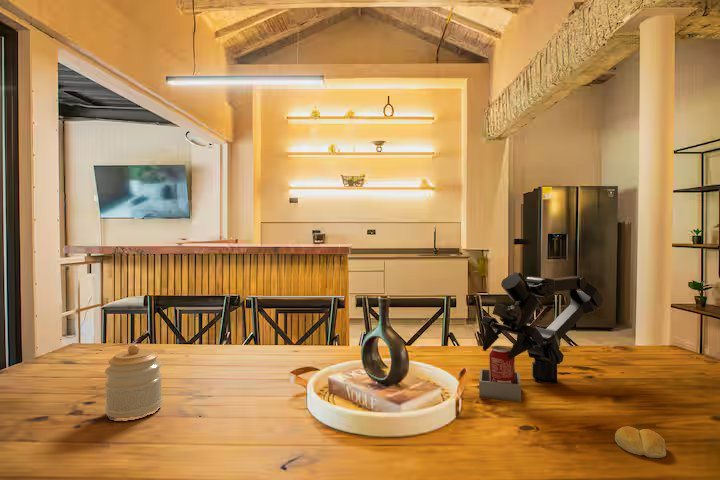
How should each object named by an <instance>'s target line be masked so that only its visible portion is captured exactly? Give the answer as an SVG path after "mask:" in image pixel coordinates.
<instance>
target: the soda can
mask: <svg viewBox="0 0 720 480" xmlns="http://www.w3.org/2000/svg"><path fill="white" fill-rule="evenodd" d="M511 349H512V347H510V346H506V345H492V346H491V350H490V352H489V353H488V356H489V357H488V359H489V360H488V361H489V362H488V364H489V365H488V366H489V369H488V370H489V376H490V382H500V383H510V384H515V372H516V371H515V370H516V369H515V367H516V366H515V363H516V362H515V358H516V356H515V357H514V358H512V359H509V358H508V354H509V352H510V350H511Z"/></svg>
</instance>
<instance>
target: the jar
mask: <svg viewBox="0 0 720 480" xmlns="http://www.w3.org/2000/svg"><path fill="white" fill-rule="evenodd" d="M158 356H159V353H158V352H156V351H155V352H154V351H153V350H151V349H149V348H140V346H139V345H138V344H135V343H133V344H130V345H129V346H128V348H127V350H124V351H121V352H118V353H116V354H115V355H114V356H113V357H111V358H109V360H108V361H107V362H108V364H109V366H108V367H107V368H106V369H105V370H104V374H105V375H106V377H107V379H106V381H105V382H104V387H105V404H106V406H105V414H106V416H107V415H108V416H110V417H114V418H130V417H137V416H142V415H144V414H147V413H149V412H152V411H154V410H156V409H157V408H158V407H160V406H161V407H162V404H163V396H162V378H163V375H162V373H161V370H160V367H161V366H162V361H161V360H159V359H157V358H158Z"/></svg>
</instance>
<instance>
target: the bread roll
mask: <svg viewBox="0 0 720 480" xmlns="http://www.w3.org/2000/svg"><path fill="white" fill-rule="evenodd" d="M614 441H615V442H616V444H617V445H618V446H619V447H620V448H622V449H623V450H625V451H626V452H629V453H631V454H633V455H638V456H646V457H647V458H653V459H660V458H664V457H666V456H667V448H666V442H665V441H666V440H665V439H664V438H663V437H662V435H660V434H659V433H657V432H656V431H654V430H652V429H648V428H643V429H637V428H636V427H634V426H629V425H626V426H621V427H620V428H618V429H617V430H616V432H615V433H614Z"/></svg>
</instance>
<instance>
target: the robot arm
mask: <svg viewBox="0 0 720 480" xmlns="http://www.w3.org/2000/svg"><path fill="white" fill-rule="evenodd" d="M501 288H502V289H503V290H504V292H505V293H506V294H507V296H508V297H509V298H510V299H511V300H512V301H514V302H515V303H514V304H511V305H510V306H509V305H505V304H501V303H495V304H494V306H493V307H494V308H493V311H492V312H491V314H492V315H495V316H497V317H499V321H500V322H502V323H500V322H499V321H498V320H497V318H496V317H492V316H489V315H485V316H483V317H482V319H481V320H480V324H481V325H482V327H483V328H484V331H485V333H484V340H483V343H482V344H483V345H482V350H483V351H484V352H486V351H487V350H488V349H490V347H492V346H493V344H494V343H495V342H496V341H497V340H498V339H499V338H500V336H499V335H501V334H502V333H503V332H504V333H508V334H513V335H516V340H515V342H514V343H513V345H512V346H511V348H512V349H511V350H510V352H509V354H508V358H509V359H512V358H514V357H515V358H516V357H517V356H519V355H521V354H522V353H524V352H527V354H528V358H533V361H532V362H531V376H532V378H533V379H534V382H537V383H548V384H558V385H559V380H558V365H560V364H561V363H563V361H564V354H563V352H562V351H561V350H560V340H562V338H563V337H564V336H565V335H566V334H567V333H568V332H569V331H570V330H571V329H572V328H573V327H574V326H575V325H576V323H578V322H579V320H580V319H581V318H582V317H584V315H587V314H591V313H594V312H596V311H597V310H599V308H601V306H602V305H603V300H604V299H603V296H602V294H601V293H600V291H599V290H598V288H596V287H595V286H594V285H592V284H591V283H589V282H588V281H587V279H586V278H585V277H583V276H579V275H569V276H562V277H554V278H553V277H551V278H548V277H539V276H527V277H526V279H525V278H524V276H523V274H522V273H521V271H514V272H513V274H510V275H507V276H506V277H505V278H503V279H502V280H501ZM562 291H568V293H567V294H568V296H569V297H570V298H569V303H570V304H569V305H568V306H567V307H566V308H565V309H564V310H563V311H562V312H561V313H560V314H559V315H558V316H557V317H556V318H555V319H554V320H553V322H551V323H550V324H549V325H548V326H547V327H546V328H543V327H542V328H541V327H535V326H531V325H532V323H533V320H532V317H533V316H534V313H535V312H536V310H541V311H542V310H544V306H543V304H542V300H540V299H539V298H538V297H541V298H548V297H552V296H553V295H555V293H557V292H562ZM528 324H529V325H528Z"/></svg>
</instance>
